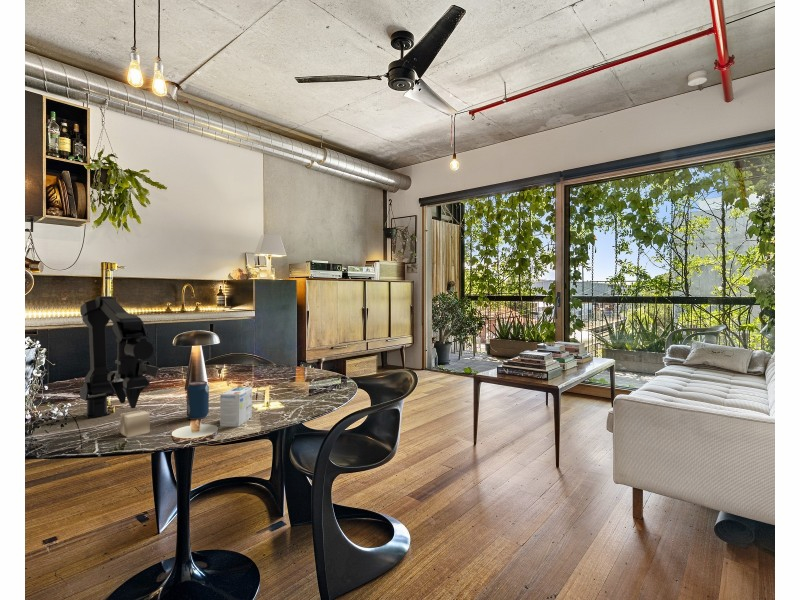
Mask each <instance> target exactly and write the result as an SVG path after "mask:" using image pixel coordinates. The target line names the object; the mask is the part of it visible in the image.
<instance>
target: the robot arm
mask: <svg viewBox="0 0 800 600" xmlns="http://www.w3.org/2000/svg"><path fill="white" fill-rule="evenodd" d="M79 310H80V311H79V313H80V315H81V317H82V318H81V319H82V322H83V323H84V324H85V325H86V327H87V328H88V338H89V339H88V341H89V342H88V343H89V345H88V346H89V365H90V368H89V371H88V372H87V374H86V376H85V377H84V383H83V385H82V387H81V389H80V392H79V399H80V400H82V401H84V402H85V401H86V412H84V413H83V414H82V415H83V416H84V417H85V418H87V419H91V418H93V419H94V418H98V417H102V416H108V415H111V414H112V413H111V412H110V411H108V397H114V395H116V397H117V398H118V401H119V402H120V404H125V403H126V400H127V402H128V405H129V407H130V409H135V408H136V406H137V404H138V401H139V397H140V396H141V392H142V391H144V390H145V389H147V388H148V387H149V386H150V381H151V380H150V378H149V377H147V376H151V377H154V378H156V377H157V374H158V372H159V369H160V367H159V366H154V365H151V362H150V361H146V360H147V359H149V358H150V357H152V355H153V354H154V346H153V344H152V343H151V342H149V341H147V340H148V338H149V335H148V334H149V332H148V330H147V328H146V325H145V323H144V321H143V320H142V318H141V317H139V316H138V315H136V314H132V313H128V312H127V311H126V310H125V308H123V306H122V305H120V303H119V302H118V301H117V299H116V297H115V296H112V295H111V296H108V295H107V296H106V295H105V296H104V295H100V296H97V297H95V298H94V299H91V300H88V301H85V302H84V303H83V304H82V305H81V306H80V308H79ZM110 321H111V322H112V327H111V328H112V331H113V333H114V335H115V336H116V339H115V342H117V356H116V357H117V358H116V359H115V360H114V364H115V365H116V367H117V369H116V370H112V371H111V370H110V369H109V368H108V360H107V359H108V357H107V334H106V333H107V332H106V326H107V325H108V324H109V322H110ZM145 375H147V376H145Z"/></svg>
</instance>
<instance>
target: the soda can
mask: <svg viewBox="0 0 800 600" xmlns="http://www.w3.org/2000/svg"><path fill="white" fill-rule="evenodd" d="M209 400H210V386H209V384H208V382H207V380H206V381H205V380H200V381H198V380H197V381H191V382H189V383H188V386H187V388H186V416H187V418H188V419H189V420H201V419H204V418H206V417H208V414H209V413H210V412H209V411H210V407H209V405H210V401H209Z"/></svg>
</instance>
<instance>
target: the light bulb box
mask: <svg viewBox="0 0 800 600" xmlns="http://www.w3.org/2000/svg"><path fill="white" fill-rule="evenodd" d="M219 397H220V398H219V399H220V400H219V401H220V402H219V403H220V405H219V406H220V407H219V408H220V409H219V413H220V415H219V416H220V417H219V427H229V428H231V427H233V428H235V427H236V428H239V427H240V426H242V425H243V424H244V423H246V422H247V421H249V418H250V419H252V414H253V412H252V411H253V410H252V408H253V407H252V405H253V404H252V403H253V401H252V400H253V399H252V398H253V387H251V386H238V387H237V386H233V387H231V388H229V390H226V391H224V392H223V393H220V395H219Z"/></svg>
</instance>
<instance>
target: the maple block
mask: <svg viewBox="0 0 800 600" xmlns="http://www.w3.org/2000/svg"><path fill="white" fill-rule="evenodd" d="M150 419H151V413H150V412H148V411H146V410H144V409H140V410H133V411H129V412H128V411H127V412H124V413H120V426H119V427H120V431H119V433H120V434H121V435H123V436H124V437H126V438H131V437H135V436H140V435H144V434H147V433H150V431H151V430H150V428H151V427H150V426H151V425H150V424H151V423H150V422H151V420H150Z"/></svg>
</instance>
